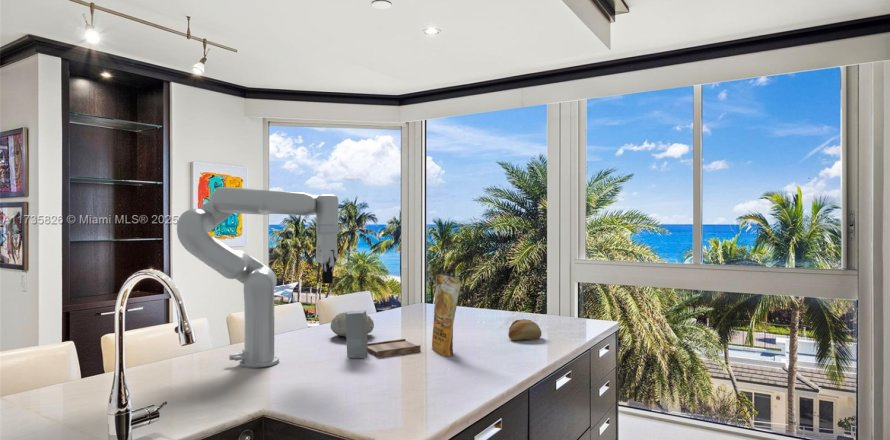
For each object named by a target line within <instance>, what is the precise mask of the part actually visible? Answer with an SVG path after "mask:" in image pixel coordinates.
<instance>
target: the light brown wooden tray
mask: <svg viewBox="0 0 890 440" xmlns="http://www.w3.org/2000/svg"><path fill="white" fill-rule="evenodd" d="M367 346H368V354H369V353H370V354H371V355H372V356H374V357H376V358H383V357H391V356H398V355H405V354H411V353H419V352H421V348H422V347H421V346H422V345H421V344H419V345H418V344H417V345H416V344H414V343H412V342H409V341H407V340H406V338H400V339H393V340H391V339H390V340H384V341H377V342H369V343H368V342H367Z"/></svg>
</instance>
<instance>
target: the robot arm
mask: <svg viewBox="0 0 890 440" xmlns="http://www.w3.org/2000/svg"><path fill="white" fill-rule="evenodd" d="M233 214H244V215H262V216H263V215H264V216H266V215H290V216H305V217H306V216H314V215H315V222H316V224H315V227H316V229H315V231H316V243H315V244H316V245H315V247H316V248H315V261H316V263H319V264H320V266H321V280H322V284H324V285H325V284H333V281H334V279H333V278H334V277H333V273H334V267H335V263H337V262H338V252H339V251H338V238H337V237H338V236H337V235H339V197H338V195H336V194H320V195H319V194H318V195H311V194H309V193H306V192H293V191H280V190H279V191H276V190H269V189H259V188H258V189H256V188H241V187H229V186H223V187H218V188H216V189H215V190H214V191H213V192H212V194H211V196H210V199H209V200H208V201H207V202H206V203H205V204H203V205H201V206H200V207H199V208H191V209H188V210H185V211H184V212H182V213H181V215H180V216H179V217H178V220H177V224H176V234H177V239H178V241H179V243H180V245H182V247H183V248H184V249H185V250H186V251H187V252H188V254H191V255H192V256H193V257H195V258H196V259H198V260H199V261H201V262H202V263H204V264H205V265H207V266H208V267H209V268H210V269H212V270H214V271H216V272H217V273H218V274H220V275H221V276H223V278H226V279H229V280H236V281H238V282H239V283H241V284H242V285H243V299H244V301H243V302H244V305H243V306H244V349H242V350H241V352H239V353H232V354H229V355H228V359H229V361H235V362H236V361H239V362H238V363H239V366H240V367H243V368H248V369H249V368H250V369H252V368H253V369H256V368H258V369H260V368H267V367H271V366H274V365H277V364H278V363H279V362H280V357H278V356H276V355H275V287H276V286H277V282H278V280H277V275H276V273H275V272H274V270H272V269H271V268H270V267H268V266H267V265H266V264H264V263H262V262H261V261H259V260H258V259H256V258H255V257H253V256H251V255H250V254H248V253H247V252H245V251H243V250H240V249H232V248H231V247H229V246H228V245H226V244H224V243H223V242H222V241H220V240H219V239H217V238H216V237H214V236H212V235H211V234H210V233H209V232H210V231H211V232H212V231H213V230H214V229H215V228H217V227H218V226H219V225H220V224H222V223H223V222H224V221H226V219H228V218H229V217H231V216H232V215H233Z"/></svg>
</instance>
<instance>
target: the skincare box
mask: <svg viewBox="0 0 890 440" xmlns="http://www.w3.org/2000/svg"><path fill="white" fill-rule="evenodd" d="M346 312H347V313H346V337H345V338H346V358H347V359H355V358H356V359H365V358H366V357H367V355H368V354H369V352H368V346H367V343H368V334H367V320H366V315H367V310H349V311H346Z"/></svg>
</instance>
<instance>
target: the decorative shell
mask: <svg viewBox="0 0 890 440" xmlns="http://www.w3.org/2000/svg"><path fill="white" fill-rule="evenodd" d="M347 312H348V311H345V312H341V313H338V314H337V315H336V316H335V317H333V319H332V320H331V322H330V330H331V331H332V332H333V333H334V334H335V335H337V336H339V337H344V338H346V313H347ZM366 320H367V335H368V334H370V333H372V332H373V330H374V328H375V325H374V324H375V323H374V320H373V319H372V318H371V316H369V315H367V314H366Z"/></svg>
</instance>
